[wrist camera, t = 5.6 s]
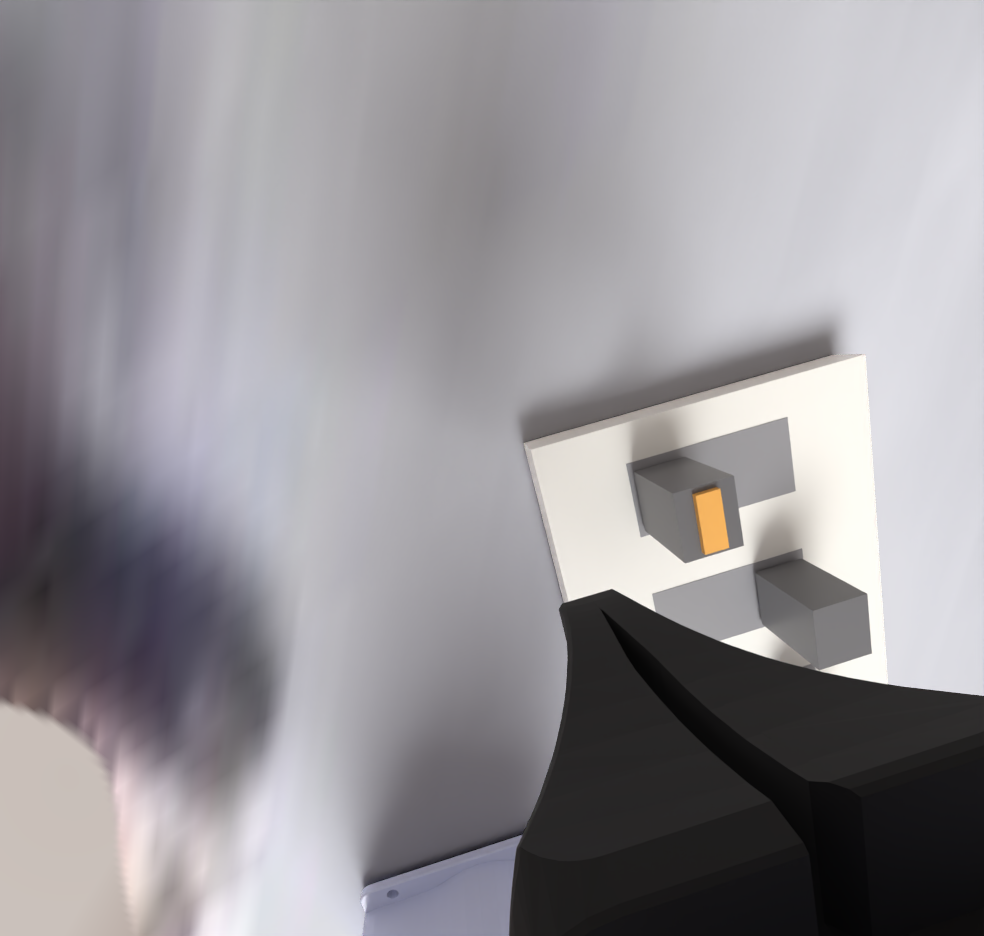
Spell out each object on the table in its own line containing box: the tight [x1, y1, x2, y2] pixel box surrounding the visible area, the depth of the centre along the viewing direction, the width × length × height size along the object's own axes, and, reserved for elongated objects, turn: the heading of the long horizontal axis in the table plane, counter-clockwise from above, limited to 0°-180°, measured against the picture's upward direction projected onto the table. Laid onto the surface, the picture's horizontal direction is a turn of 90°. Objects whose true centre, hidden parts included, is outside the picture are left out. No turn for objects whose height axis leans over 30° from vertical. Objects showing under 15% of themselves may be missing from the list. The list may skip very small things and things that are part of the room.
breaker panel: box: [524, 354, 888, 684], centre depth 19 cm, size 13×17×5 cm
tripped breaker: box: [634, 457, 744, 563], centre depth 16 cm, size 2×2×3 cm
